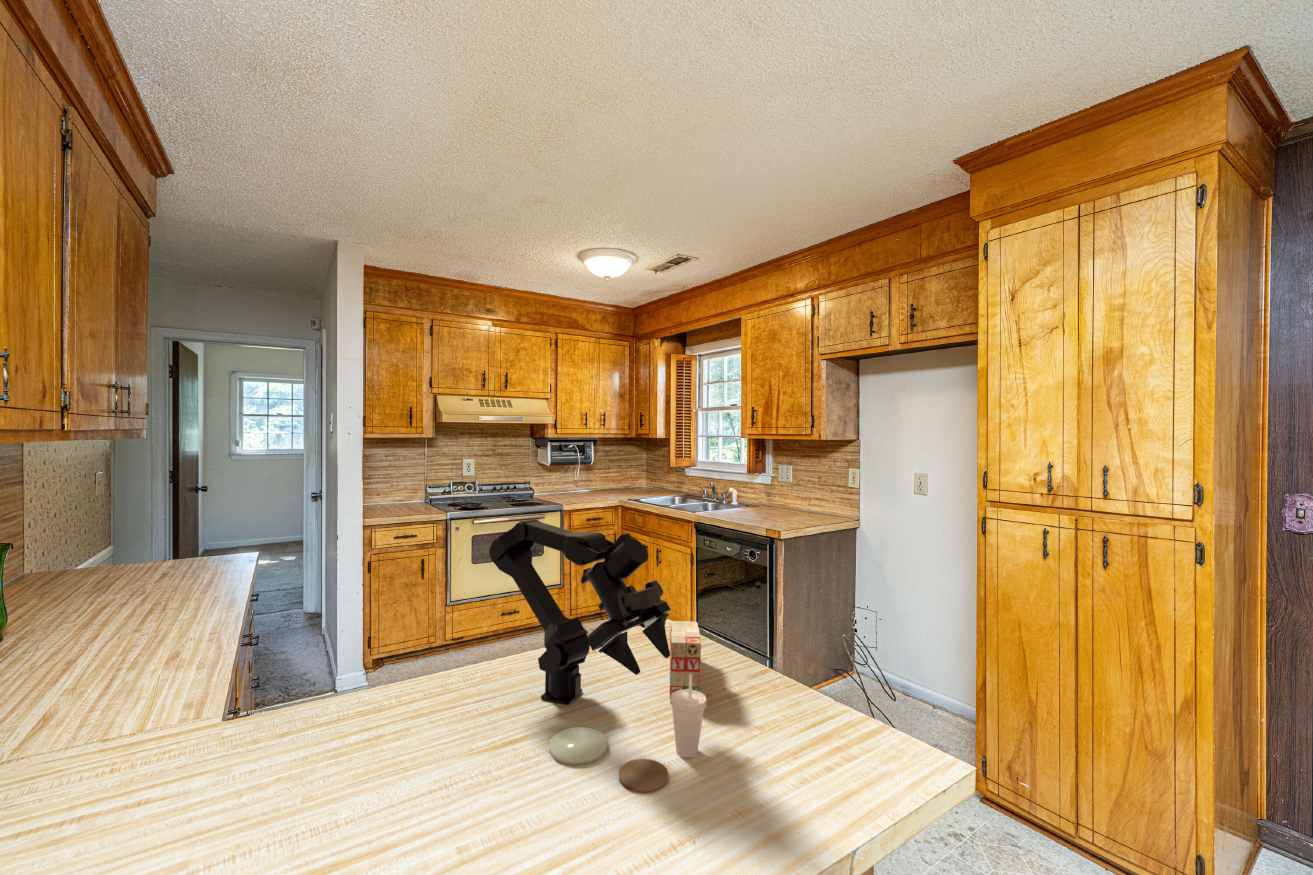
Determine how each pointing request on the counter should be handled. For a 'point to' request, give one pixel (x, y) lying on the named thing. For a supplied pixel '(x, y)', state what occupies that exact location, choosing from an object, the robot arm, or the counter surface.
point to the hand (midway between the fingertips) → (653, 664)
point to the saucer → (578, 746)
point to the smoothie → (687, 719)
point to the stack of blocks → (684, 655)
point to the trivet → (643, 775)
